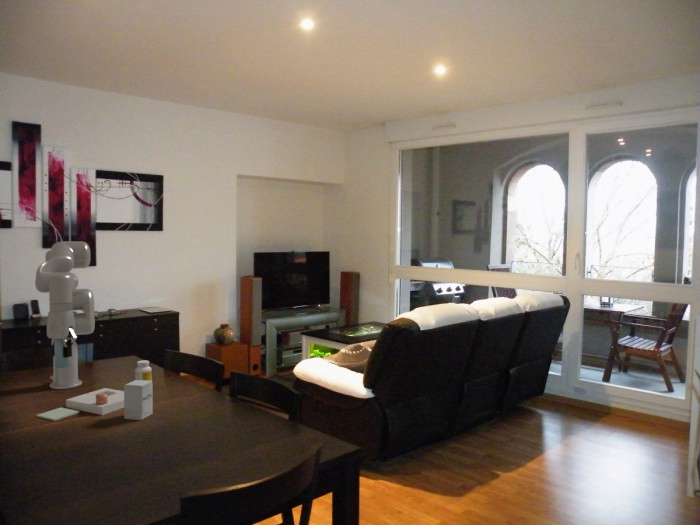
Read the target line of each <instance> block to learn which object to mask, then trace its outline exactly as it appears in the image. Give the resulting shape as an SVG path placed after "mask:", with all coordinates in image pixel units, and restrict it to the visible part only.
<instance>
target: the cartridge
mask: <svg viewBox="0 0 700 525" xmlns="http://www.w3.org/2000/svg"><path fill="white" fill-rule="evenodd" d="M67 338H69V336H68V337H67ZM68 340H69V339H68ZM68 340H67V342H68ZM63 347H64V343H63V339H54V349H55V368H65V367H69V366H70V357H67V358H63Z"/></svg>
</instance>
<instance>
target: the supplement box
mask: <svg viewBox="0 0 700 525" xmlns="http://www.w3.org/2000/svg"><path fill="white" fill-rule="evenodd" d="M123 387H124V388H123V391H124V410H123V411H124V414H123V416H124V420H125V419H127V420H137V421H143V420H144V419H146V418H148V417H149V416H152V415H153V410H154V406H153V405H154V402H153V401H154V399H153V398H154V396H153V392H154V391H153V390H154V389H153V380H152V381H146V380H135V379H134V380H133V381H130V382H128V383H125V384H124V385H123Z"/></svg>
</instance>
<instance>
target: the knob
mask: <svg viewBox="0 0 700 525" xmlns="http://www.w3.org/2000/svg"><path fill="white" fill-rule="evenodd" d="M107 402H108V400H107V394H106V393H100V394H97V395H96V404H105V403H107Z"/></svg>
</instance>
